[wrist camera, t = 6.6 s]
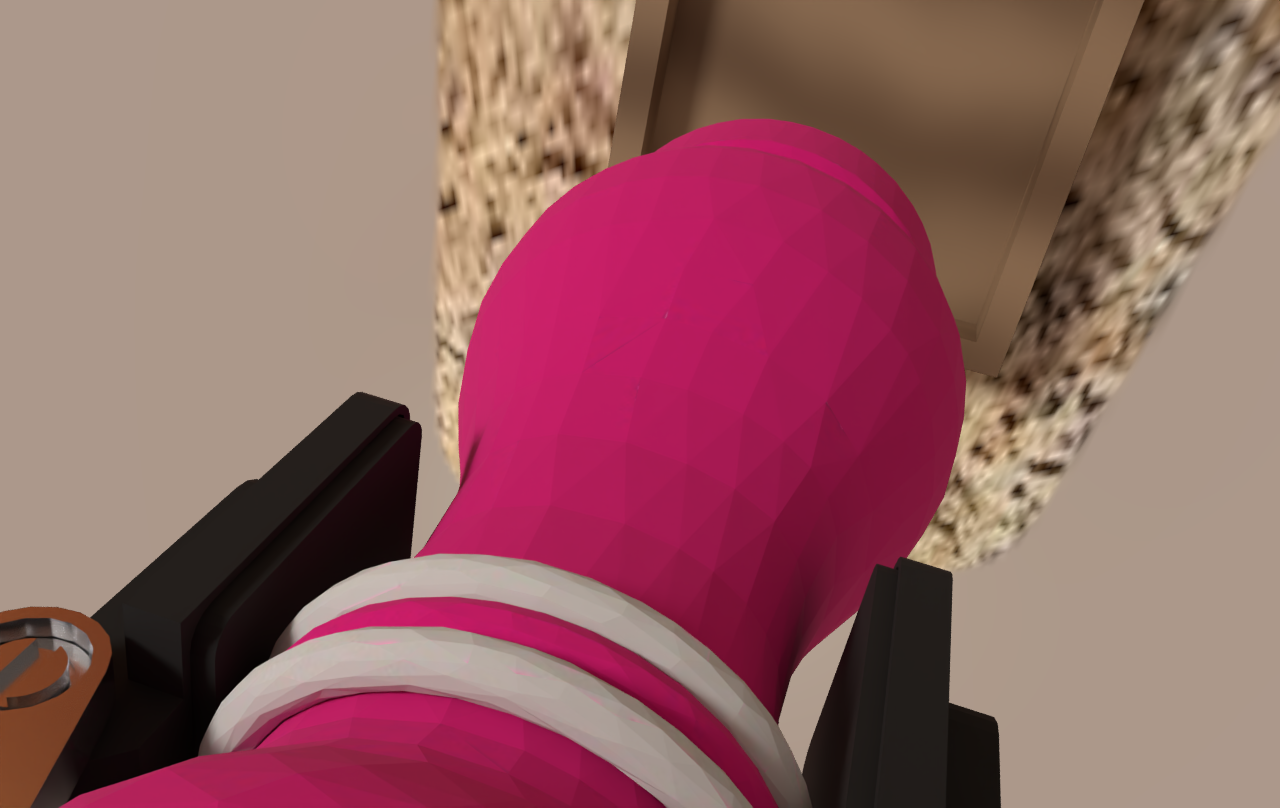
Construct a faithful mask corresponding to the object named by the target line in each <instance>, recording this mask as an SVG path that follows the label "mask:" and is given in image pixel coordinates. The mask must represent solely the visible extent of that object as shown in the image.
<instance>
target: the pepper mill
mask: <svg viewBox="0 0 1280 808" xmlns="http://www.w3.org/2000/svg"><path fill="white" fill-rule="evenodd" d="M965 391H966V377H965V370H964V362H963V355H962V348H961V341H960V335H959V331H958V328H957V325H956V322H955V319H954V317H953V314H952V312H951V309H950V307H949V304H948V302H947V300H946V297H945V295H944V292H943V290H942V288H941V285H940V283H939V281H938V278H937V276H936V269H935V264H934V259H933V254H932V249H931V244H930V241H929V239H928V236H927V233H926V231H925V228H924V225H923V223H922V221H921V219H920V217H919V215H918V214H917V212H916V210H915V208H914V206H913V205H912V203H911V202H910V200H909V199H908V198H907V196H906V195H905V193H904V192H903V191H902V189H901V188H900V187H899V185H898V184H897V182H896V181H895V180H894V179H893V178H892V177H891V176H890V175H889V174H888V173H887V172H886V171H885V170H884V169H883V168H882V167H881V166H879V165H878V164H877V163H876V162H875V161H874V160H873V159H871V158H870V157H869V156H867V155H866V154H865V153H863V152H862V151H861V150H859V149H858V148H856V147H854V146H852V145H851V144H849V143H847V142H845V141H844V140H842V139H840V138H838V137H836V136H833V135H831V134H828V133H826V132H823V131H821V130H819V129H816V128H814V127H810V126H806V125H802V124H798V123H794V122H789V121H781V120H774V119H738V120H732V121H726V122H720V123H716V124H712V125H709V126H705V127H702V128H698V129H696V130H693V131H691V132H689V133H687V134H685V135H682V136H680V137H678V138H676V139H674V140H672V141H671V142H669V143H667V144H666V145H664V146H663V147H661V148H660V149H658V150H657V151H656V152H653V153H650V154H646V155H642V156H638V157H634V158H631V159H629V160H626V161H624V162H621V163H619V164H616V165H614V166H611V167H609V168H607V169H605V170H603V171H601V172H599V173H598V174H596V175H594V176H592V177H590V178H589V179H587V180H585V181H583V182H582V183H580V184H578V185H576V186H575V187H573V188H572V189H571V190H570V191H568V192H567V193H566V194H565V195H564V196H562V197H561V198H560V199H559V200H557V201H556V202H555V203H554V204H553V205H551V206H550V207H549V208H548V209H547V210H546V211H545V212H544V213H543V214H542V215H541V217H540V218H539V219H538V220H537V221H536V222H535V223H534V225H533V226H532V227H531V228H530V229H529V230H528V232H527V233H526V234H525V235H524V236H523V238H522V239H521V240H520V242H519V243H518V244H517V246H516V247H515V248H514V249H513V251H512V252H511V253H510V255H509V256H508V257H507V259H506V260H505V261H504V263H503V264H502V266H501V268H500V270H499V271H498V273H497V275H496V277H495V279H494V280H493V282H492V284H491V286H490V288H489V290H488V291H487V293H486V295H485V297H484V299H483V300H482V303H481V306H480V310H479V313H478V317H477V320H476V323H475V327H474V330H473V334H472V337H471V340H470V344H469V347H468V351H467V357H466V363H465V368H464V374H463V380H462V386H461V392H460V398H459V458H460V472H461V474H460V487H459V490H458V493H457V495H456V497H455V498H454V500H453V501H452V503H451V505H450V506H449V508H448V509H447V511H446V513H445V514H444V516H443V517H442V519H441V521H440V522H439V524H438V525H437V527H436V529H435V530H434V532H433V534H432V535H431V537H430V538H429V540H428V541H427V543H426V545H425V546H424V548H423V549H422V550H421V551H420V552H419V553H418V554H417V555H416V556H415V557H414V558H410V559H404V560H398V561H392V562H388V563H385V564H381V565H378V566H375V567H371V568H368V569H365V570H362V571H360V572H359V573H357V574H355V575H353V576H351V577H349V578H347V579H345V580H343V581H341V582H339V583H337V584H335V585H333V586H332V587H331V588H329V589H328V590H327V591H325V592H324V593H323V594H321V595H320V596H318V597H317V598H316V599H314V600H313V601H312V602H310V603H309V604H307V605H306V606H305V607H303V609H302V610H301V611H300V612H299V613H298V614H297V616H296V617H295V618H294V619H293V620H292V621H291V622H290V624H289V625H288V626H287V627H286V629H285V630H284V632H283V633H282V634H281V636H280V637H279V638H278V640H277V641H276V643H275V645H274V648H273V650H272V653H271V655H270V658H269V660H268V661H266V662H265V663H263V664H261V665H259V666H258V667H256V668H254V669H253V670H252V671H251V672H250V673H249V674H248V675H247V676H246V677H245V678H244V679H243V680H242V681H241V682H240V683H239V684H238V685H237V686H236V687H235V688H234V689H233V690H232V691H231V693H230V694H229V695H228V696H227V697H226V698H225V699H224V700H223V701H222V702H221V704H220V706H219V707H218V709H217V711H216V713H215V715H214V716H213V718H212V720H211V723H210V725H209V727H208V729H207V731H206V733H205V735H204V737H203V740H202V742H201V744H200V748H199V753H198V757H195V758H192V759H189V760H186V761H183V762H180V763H177V764H174V765H171V766H168V767H165V768H162V769H159V770H156V771H153V772H150V773H147V774H144V775H141V776H138V777H135V778H132V779H129V780H125V781H122V782H119V783H116V784H113V785H110V786H106V787H103V788H100V789H97V790H94V791H91V792H88V793H84V794H81V795H79V796H77V797H76V798H74V799H72V800H71V801H69V802H67V803H66V804H64V805H62V806H61V807H59V808H812V804H811V800H810V796H809V793H808V789H807V785H806V782H805V780H804V778H803V776H802V774H801V771H800V769H799V767H798V764H797V762H796V760H795V758H794V756H793V753H792V751H791V750H790V747H789V745H788V744H787V742H786V740H785V738H784V736H783V734H782V732H781V730H780V729H779V727H778V723H779V717H780V713H781V710H782V706H783V703H784V699H785V696H786V692H787V689H788V685H789V682H790V678H791V676H792V674H793V673H794V671H795V669H796V668H797V666H798V665H799V663H800V662H801V660H802V659H803V657H804V656H806V654H807V653H808V652H810V651H811V650H812V649H813V648H814V647H815V646H816V645H817V644H819V643H820V642H821V641H822V640H823V639H824V638H826V637H827V636H828V635H829V634H830V633H832V632H833V631H834V630H835V629H837V628H838V627H839V626H840V625H841V624H843V623H844V622H845V621H846V620H847V619H849V618H850V617H851V616H852V615H853V614H855V613H856V612H857V611H858V610H859V607H860V605H861V602H862V599H863V596H864V594H865V591H866V588H867V585H868V583H869V580H870V577H871V574H872V572H873V569H874V567H875V565H876V564H880V565H883V566H886V567H890V568H893V569H894V566H895V564H896V562H897V560H898V558H899V557H904V558H907V557H908V555H909V554H910V552H911V551H912V549H913V548H914V547H915V545H916V544H917V542H918V541H919V539H920V538H921V536H922V535H923V533H924V532H925V530H926V528H927V526H928V525H929V523H930V521H931V519H932V517H933V516H934V514H935V512H936V510H937V508H938V507H939V505H940V503H941V501H942V500H943V498H944V495H945V491H946V488H947V484H948V480H949V477H950V473H951V470H952V466H953V463H954V459H955V456H956V451H957V447H958V442H959V438H960V433H961V428H962V424H963V419H964V407H965Z"/></svg>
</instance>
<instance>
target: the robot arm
mask: <svg viewBox="0 0 1280 808" xmlns="http://www.w3.org/2000/svg"><path fill="white" fill-rule="evenodd" d="M421 439H422V429H421V425H420V424H419V423H418V422H415V421H411V420H410V413H409V409H408V408H407V407H406V406H405V405H402V404H399V403H396V402H393V401H389V400H386V399H383V398H380V397H376V396H373V395H369V394H367V393H363V392H357V393H355V394H354V395H352V396H351V397H350V398H349V399H348V400H347V401H345V402H344V403H343V404H342V405H341V406H340V407H339V408H338V409H336V410H335V411H334V412H333V413H332V414H331V415H330V416H329V417H328V418H327V419H326V420H324V421H323V422H322V423H321V424H320V425H319V426H318V427H317V428H315V429H314V430H313V431H312V432H311V433H310V434H309V435H308V436H307V437H305V439H303V440H302V441H301V442H300V443H299V444H298V445H297V446H296V447H295V448H293V449H292V450H291V451H290V452H289V453H288V454H287V455H286V456H284V457H283V458H282V459H281V460H280V461H279V462H278V463H277V464H276V465H274V466H273V468H271V469H270V470H269V471H268V472H267V473H266V474H265V475H263V476H262V478H260V479H259V480H258V479H254V480H248V481H246V482H244V483H243V484H241V485H240V486H238V487H237V488H236V489H235V490H234V491H232V492H231V493H230V494H229V495H228V496H227V497H226V498H224V499H223V500H222V501H221V502H220V503H219V504H218V505H217V506H215V507H214V508H213V509H212V510H211V511H210V512H209V513H208V514H207V515H205V516H204V517H203V518H202V519H201V520H200V521H199V522H198V523H196V524H195V525H194V526H193V527H192V528H191V529H190V530H188V531H187V532H186V533H185V534H184V535H183V536H182V537H181V538H179V539H178V540H177V541H176V542H175V543H174V544H173V545H171V546H170V547H169V548H168V549H167V550H166V551H165V552H164V553H162V554H161V555H160V556H159V557H158V558H157V559H156V560H155V561H154V562H152V563H151V564H150V565H149V566H148V567H147V568H146V569H144V570H143V571H142V572H141V573H140V574H139V575H138V576H137V577H135V578H134V579H133V580H132V581H131V582H130V583H129V584H128V585H126V586H125V587H124V588H123V589H122V590H121V591H120V592H118V593H117V594H116V595H115V596H114V597H113V598H112V599H111V600H109V601H108V602H107V603H106V604H105V605H104V606H103V607H102V608H100V610H98V611H97V612H96V613H95V614H94V615H93V616H92V617H90V618H89V617H87V616H86V615H84V614H82V613H80V612H76V611H72V610H68V609H64V608H59V607H26V608H20V609H14V610H8V611H3V612H0V808H59V807H61V806H62V805H64V804H66V803H67V802H69V801H71V800H72V799H74V798H76V797H77V796H79V795H81V794H84V793H88V792H91V791H94V790H97V789H100V788H103V787H106V786H110V785H113V784H116V783H119V782H122V781H125V780H129V779H132V778H135V777H138V776H141V775H144V774H147V773H150V772H153V771H156V770H159V769H162V768H165V767H168V766H171V765H174V764H177V763H180V762H183V761H186V760H189V759H192V758H195V757H198V753H199V748H200V744H201V742H202V740H203V737H204V735H205V733H206V731H207V729H208V727H209V725H210V723H211V720H212V718H213V716H214V715H215V713H216V711H217V709H218V707H219V706H220V704H221V702H222V701H223V700H224V699H225V698H226V697H227V696H228V695H229V694H230V693H231V691H232V690H233V689H234V688H235V687H236V686H237V685H238V684H239V683H240V682H241V681H242V680H243V679H244V678H245V677H246V676H247V675H248V674H249V673H250V672H251V671H252V670H253V669H254V668H256V667H258V666H259V665H261V664H263V663H265V662H266V661H268V660H269V658H270V655H271V653H272V650H273V648H274V645H275V643H276V641H277V640H278V638H279V637H280V636H281V634H282V633H283V632H284V630H285V629H286V627H287V626H288V625H289V624H290V622H291V621H292V620H293V619H294V618H295V617H296V616H297V614H298V613H299V612H300V611H301V610H302V609H303V607H305V606H306V605H307V604H309V603H310V602H312V601H313V600H314V599H316V598H317V597H318V596H320V595H321V594H323V593H324V592H325V591H327V590H328V589H329V588H331V587H332V586H333V585H335V584H337V583H339V582H341V581H343V580H345V579H347V578H349V577H351V576H353V575H355V574H357V573H359V572H360V571H362V570H365V569H368V568H371V567H375V566H378V565H381V564H385V563H388V562H392V561H398V560H404V559H410V558H411V557H410V556H411V547H412V536H413V525H414V515H415V504H416V503H415V502H416V493H417V482H418V471H419V459H420V449H421ZM952 581H953V578H952V573H951V572H949V571H946V570H943V569H940V568H936V567H933V566H930V565H927V564H923V563H920V562H917V561H913V560H910V559H907V558H904V557H899V558H898V560H897V562H896V564H895V566H894V569H893V568H890V567H886V566H883V565H880V564H876V565H875V567H874V569H873V572H872V574H871V577H870V580H869V583H868V585H867V588H866V591H865V594H864V596H863V599H862V602H861V605H860V607H859V610H858V613H857V616H856V619H855V621H854V624H853V627H852V630H851V633H850V635H849V638H848V640H847V643H846V646H845V649H844V652H843V654H842V657H841V660H840V662H839V665H838V668H837V671H836V673H835V676H834V679H833V682H832V685H831V687H830V690H829V693H828V696H827V698H826V701H825V704H824V707H823V709H822V712H821V715H820V718H819V720H818V723H817V726H816V729H815V731H814V734H813V737H812V740H811V743H810V746H809V749H808V752H807V756H806V760H805V764H804V768H803V773H802V776H803V778H804V780H805V782H806V785H807V789H808V793H809V796H810V800H811V804H812V808H1001V797H1000V759H999V732H998V724H997V721H996V720H995V718H994V717H992V716H989V715H986V714H983V713H979V712H976V711H973V710H970V709H967V708H964V707H961V706H958V705H954V704H952V703H949V681H950V646H951V616H952V615H951V614H952V613H951V612H952Z"/></svg>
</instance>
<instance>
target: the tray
mask: <svg viewBox="0 0 1280 808" xmlns="http://www.w3.org/2000/svg"><path fill="white" fill-rule="evenodd" d="M1143 2H1144V0H636V5H635V11H634V17H633V23H632V29H631V35H630V41H629V47H628V53H627V58H626V64H625V70H624V76H623V82H622V88H621V94H620V100H619V106H618V112H617V118H616V124H615V130H614V135H613V141H612V147H611V153H610V159H609V165H608V168H609V167H611V166H614V165H616V164H619V163H621V162H624V161H626V160H629V159H631V158H634V157H638V156H642V155H646V154H650V153H653V152H656V151H657V150H658V149H660V148H661V147H663V146H664V145H666V144H667V143H669V142H671V141H672V140H674V139H676V138H678V137H680V136H682V135H685V134H687V133H689V132H691V131H693V130H696V129H698V128H702V127H705V126H709V125H712V124H716V123H720V122H726V121H732V120H738V119H774V120H781V121H789V122H794V123H798V124H802V125H806V126H810V127H814V128H816V129H819V130H821V131H823V132H826V133H828V134H831V135H833V136H836V137H838V138H840V139H842V140H844V141H845V142H847V143H849V144H851V145H852V146H854V147H856V148H858V149H859V150H861V151H862V152H863V153H865V154H866V155H867V156H869V157H870V158H871V159H873V160H874V161H875V162H876V163H877V164H878V165H879V166H881V167H882V168H883V169H884V170H885V171H886V172H887V173H888V174H889V175H890V176H891V177H892V178H893V179H894V180H895V181H896V182H897V184H898V185H899V187H900V188H901V189H902V191H903V192H904V193H905V195H906V196H907V198H908V199H909V200H910V202H911V203H912V205H913V206H914V208H915V210H916V212H917V214H918V215H919V217H920V219H921V221H922V223H923V225H924V228H925V231H926V233H927V236H928V239H929V241H930V244H931V249H932V254H933V259H934V264H935V269H936V276H937V278H938V281H939V283H940V285H941V288H942V290H943V292H944V295H945V297H946V300H947V302H948V304H949V307H950V309H951V312H952V314H953V317H954V319H955V322H956V325H957V328H958V331H959V335H960V341H961V348H962V355H963V362H964V369H968V370H971V371H975V372H978V373H982V374H986V375H989V376H993V377H997V376H998V374H999V371H1000V369H1001V366H1002V363H1003V361H1004V358H1005V356H1006V353H1007V351H1008V348H1009V345H1010V343H1011V340H1012V338H1013V335H1014V333H1015V330H1016V328H1017V325H1018V322H1019V320H1020V317H1021V315H1022V312H1023V310H1024V307H1025V305H1026V302H1027V299H1028V297H1029V294H1030V292H1031V289H1032V287H1033V284H1034V281H1035V279H1036V276H1037V274H1038V271H1039V269H1040V266H1041V264H1042V261H1043V258H1044V256H1045V253H1046V251H1047V248H1048V246H1049V243H1050V241H1051V238H1052V235H1053V233H1054V230H1055V228H1056V225H1057V223H1058V220H1059V217H1060V215H1061V212H1062V210H1063V207H1064V205H1065V202H1066V200H1067V197H1068V194H1069V192H1070V189H1071V187H1072V184H1073V182H1074V179H1075V177H1076V174H1077V171H1078V169H1079V166H1080V164H1081V161H1082V159H1083V156H1084V153H1085V151H1086V148H1087V146H1088V143H1089V141H1090V138H1091V136H1092V133H1093V130H1094V128H1095V125H1096V123H1097V120H1098V118H1099V115H1100V113H1101V110H1102V107H1103V105H1104V102H1105V100H1106V97H1107V95H1108V92H1109V89H1110V87H1111V84H1112V82H1113V79H1114V77H1115V74H1116V72H1117V69H1118V66H1119V64H1120V61H1121V59H1122V56H1123V54H1124V51H1125V49H1126V46H1127V43H1128V41H1129V38H1130V36H1131V33H1132V31H1133V28H1134V25H1135V23H1136V20H1137V18H1138V15H1139V13H1140V10H1141V8H1142V5H1143Z"/></svg>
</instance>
